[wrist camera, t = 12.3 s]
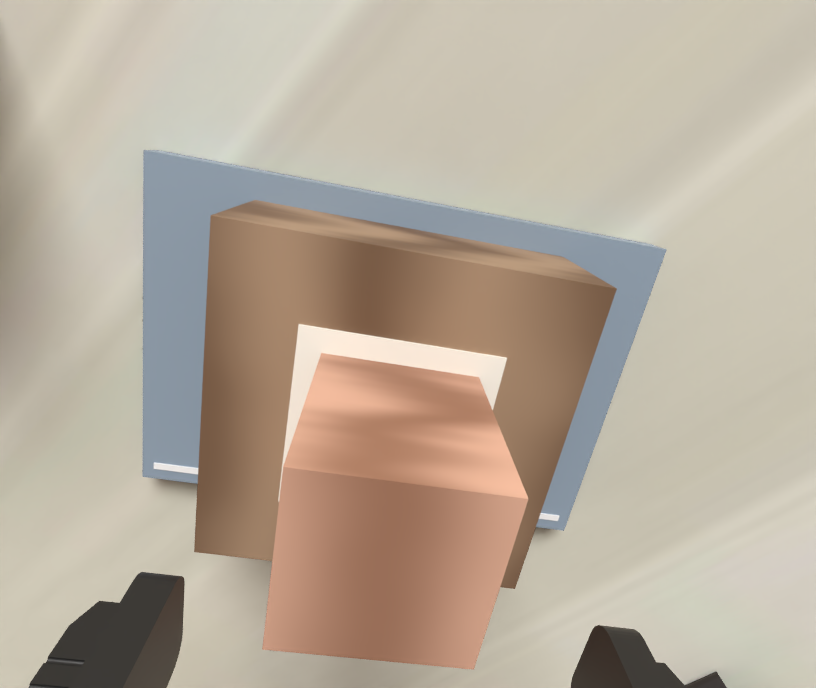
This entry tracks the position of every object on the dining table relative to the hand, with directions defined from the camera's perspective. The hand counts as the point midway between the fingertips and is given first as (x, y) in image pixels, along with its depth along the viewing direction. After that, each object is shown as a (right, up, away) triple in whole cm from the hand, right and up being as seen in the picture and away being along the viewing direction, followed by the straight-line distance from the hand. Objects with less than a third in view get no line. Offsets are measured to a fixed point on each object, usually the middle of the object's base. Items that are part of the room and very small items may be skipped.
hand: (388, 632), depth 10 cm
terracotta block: (0, +3, +7) cm, 7 cm away
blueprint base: (-1, +5, +13) cm, 14 cm away
